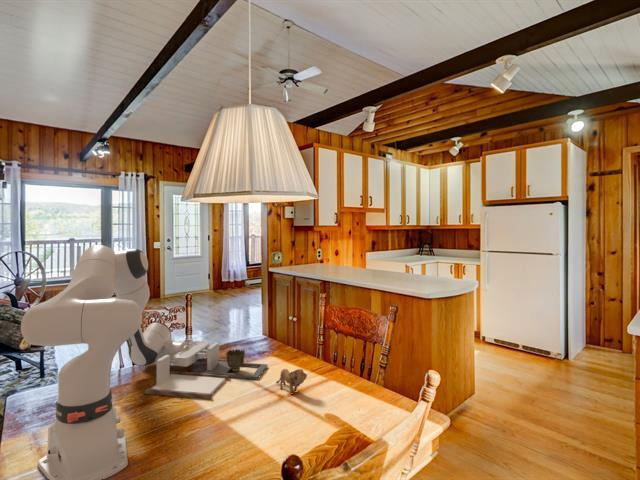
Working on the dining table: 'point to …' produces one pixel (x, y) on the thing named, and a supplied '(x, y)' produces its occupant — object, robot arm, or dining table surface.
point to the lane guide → (184, 393)
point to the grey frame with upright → (222, 366)
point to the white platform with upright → (183, 380)
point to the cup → (235, 359)
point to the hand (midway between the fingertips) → (210, 354)
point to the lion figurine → (292, 378)
